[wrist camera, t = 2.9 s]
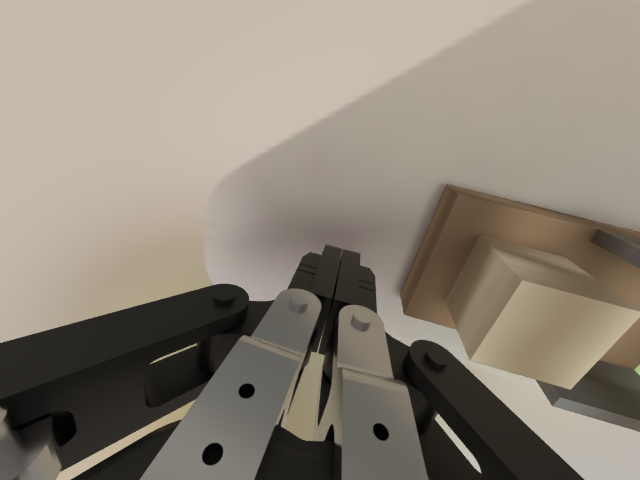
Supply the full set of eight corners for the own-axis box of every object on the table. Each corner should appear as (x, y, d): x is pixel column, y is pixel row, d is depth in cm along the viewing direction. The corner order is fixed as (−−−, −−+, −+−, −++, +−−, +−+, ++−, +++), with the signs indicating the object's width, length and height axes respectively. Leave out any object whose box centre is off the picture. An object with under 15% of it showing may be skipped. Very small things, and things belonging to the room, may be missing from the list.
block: (445, 300, 15) (469, 360, 11) (479, 235, 13) (522, 280, 9) (520, 321, 14) (570, 389, 11) (565, 257, 13) (643, 313, 9)
